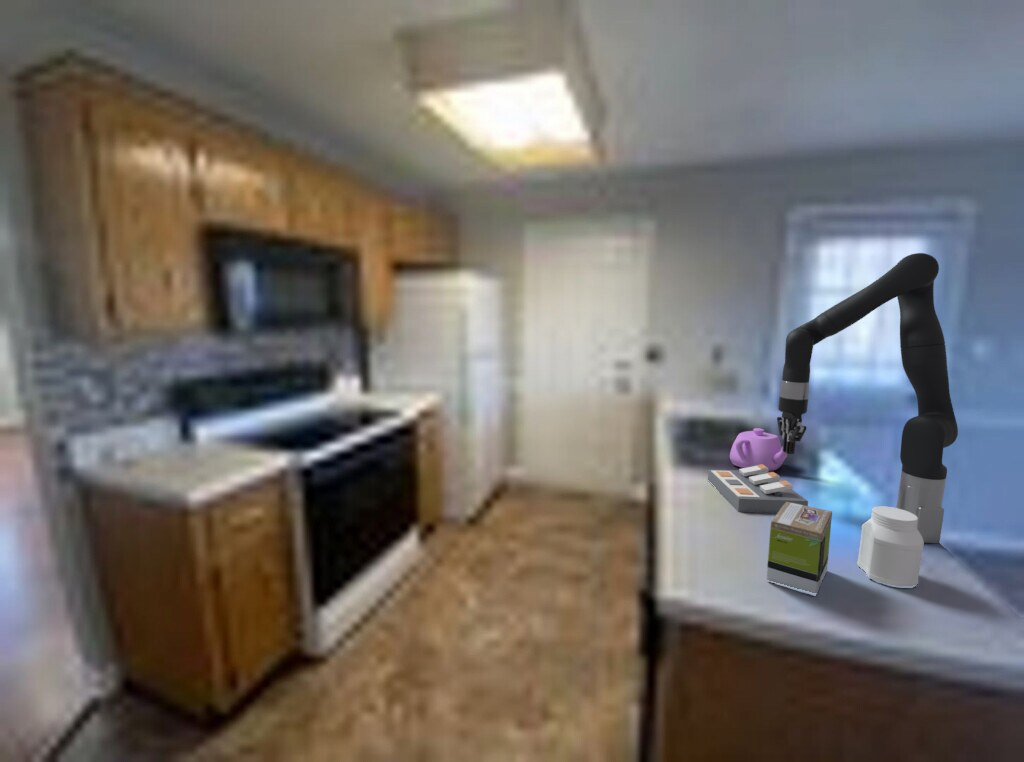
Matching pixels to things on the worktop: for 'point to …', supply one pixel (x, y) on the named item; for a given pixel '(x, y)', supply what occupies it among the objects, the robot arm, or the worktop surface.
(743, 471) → the rocker
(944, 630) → the worktop surface
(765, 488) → the rocker
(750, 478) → the rocker
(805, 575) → the tea box
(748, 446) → the teapot
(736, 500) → the switch panel
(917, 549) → the jar
